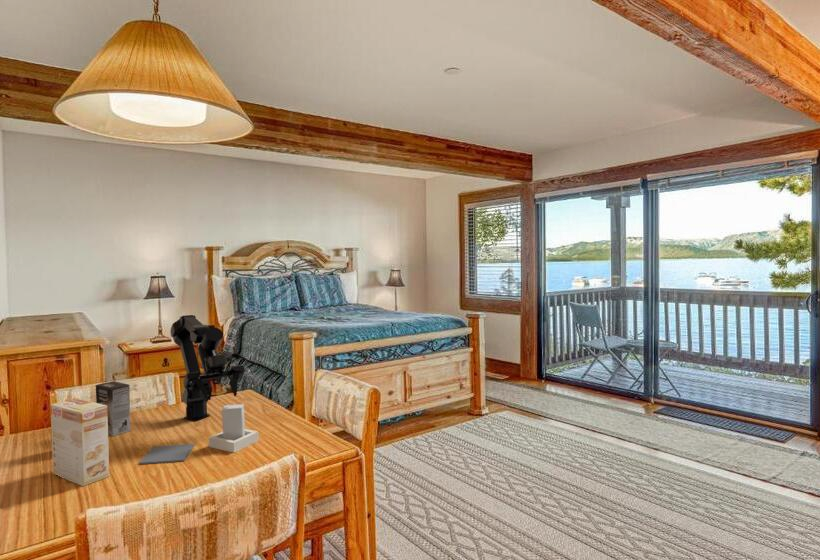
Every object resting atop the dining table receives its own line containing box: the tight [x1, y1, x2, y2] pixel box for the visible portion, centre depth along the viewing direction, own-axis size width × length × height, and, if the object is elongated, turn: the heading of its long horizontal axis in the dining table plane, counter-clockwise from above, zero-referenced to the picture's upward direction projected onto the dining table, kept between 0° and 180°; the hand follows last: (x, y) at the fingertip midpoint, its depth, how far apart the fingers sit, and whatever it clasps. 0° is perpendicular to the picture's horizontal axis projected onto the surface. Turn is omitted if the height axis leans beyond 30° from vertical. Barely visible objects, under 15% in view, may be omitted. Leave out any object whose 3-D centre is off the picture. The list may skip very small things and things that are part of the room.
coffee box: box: [95, 380, 131, 437], centre depth 163 cm, size 9×6×16 cm
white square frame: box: [208, 428, 260, 454], centre depth 153 cm, size 10×10×3 cm
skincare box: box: [221, 403, 246, 441], centre depth 153 cm, size 6×4×12 cm
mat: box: [138, 443, 196, 465], centre depth 145 cm, size 12×12×1 cm
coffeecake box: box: [50, 398, 111, 487], centre depth 131 cm, size 15×7×20 cm, turn 61°
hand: (221, 398), depth 157 cm, fingers open, 9 cm apart
